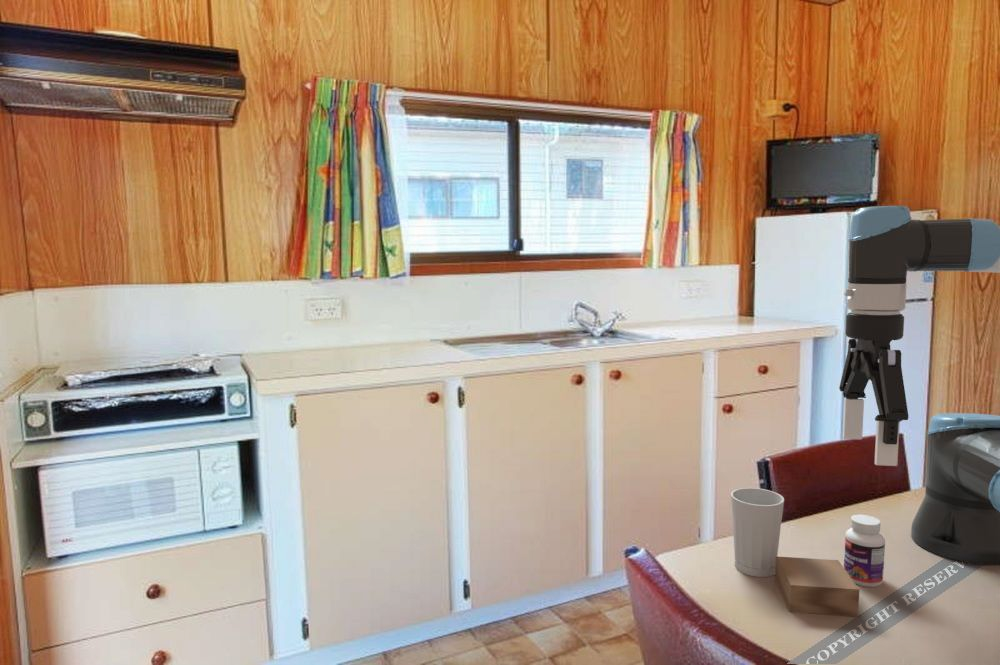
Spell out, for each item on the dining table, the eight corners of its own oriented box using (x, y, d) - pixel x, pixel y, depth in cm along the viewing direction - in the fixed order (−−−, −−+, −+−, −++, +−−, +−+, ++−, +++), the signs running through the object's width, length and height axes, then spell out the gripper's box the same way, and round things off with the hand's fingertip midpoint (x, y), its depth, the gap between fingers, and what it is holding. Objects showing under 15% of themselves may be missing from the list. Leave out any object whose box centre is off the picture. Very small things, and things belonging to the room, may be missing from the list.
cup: (787, 581, 102) (789, 507, 100) (733, 577, 103) (734, 504, 102) (776, 558, 110) (778, 489, 108) (726, 554, 111) (727, 486, 110)
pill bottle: (835, 575, 103) (837, 516, 102) (859, 568, 106) (862, 510, 104) (866, 590, 98) (869, 529, 97) (891, 583, 101) (894, 522, 100)
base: (837, 584, 100) (838, 560, 100) (858, 616, 92) (859, 589, 91) (775, 580, 102) (775, 556, 102) (789, 611, 93) (790, 585, 93)
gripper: (822, 305, 110) (817, 428, 113) (880, 320, 86) (872, 476, 88) (870, 305, 109) (864, 430, 111) (943, 320, 84) (933, 479, 87)
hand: (867, 451), depth 100 cm, fingers open, 13 cm apart
